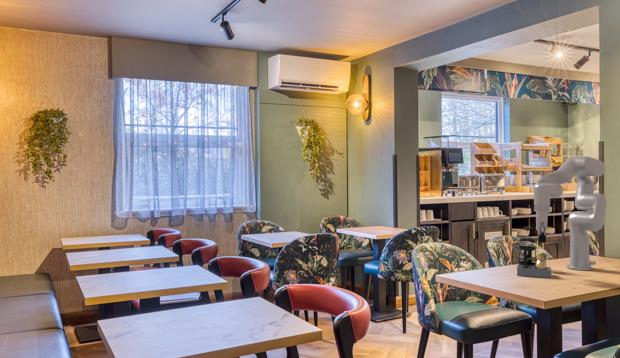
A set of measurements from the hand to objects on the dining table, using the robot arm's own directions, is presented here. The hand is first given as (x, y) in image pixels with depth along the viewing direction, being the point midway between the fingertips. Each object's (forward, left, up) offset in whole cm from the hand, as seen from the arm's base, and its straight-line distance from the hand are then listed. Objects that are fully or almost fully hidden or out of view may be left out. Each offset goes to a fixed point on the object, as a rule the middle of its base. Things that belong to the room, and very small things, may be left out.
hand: (542, 241), depth 267 cm
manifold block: (+3, -2, -18) cm, 18 cm away
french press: (-7, -19, -18) cm, 27 cm away
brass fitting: (+1, 0, -18) cm, 18 cm away
